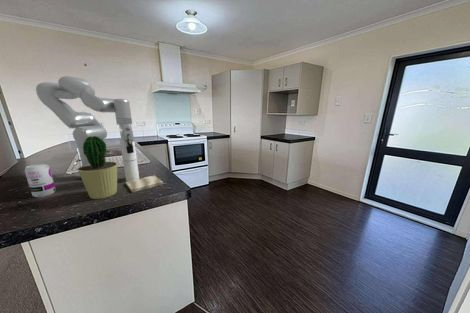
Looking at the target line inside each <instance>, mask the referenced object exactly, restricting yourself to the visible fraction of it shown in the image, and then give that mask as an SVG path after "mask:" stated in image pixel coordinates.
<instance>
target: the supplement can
mask: <svg viewBox="0 0 470 313" xmlns="http://www.w3.org/2000/svg"><path fill="white" fill-rule="evenodd" d="M24 173H25V176H26V179H27V184H28V187H29V190H30V193H31V196H32V197H34V198H43V197H48V196H51V195H54V193H55V192H56V191H57V189H56V186H55V181H54V178H53V177H54V176H53V175H52V171H51V168H50V166H49V165H48V164H47V163H36V164H30V165H27V166H26V167H25V169H24Z"/></svg>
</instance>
